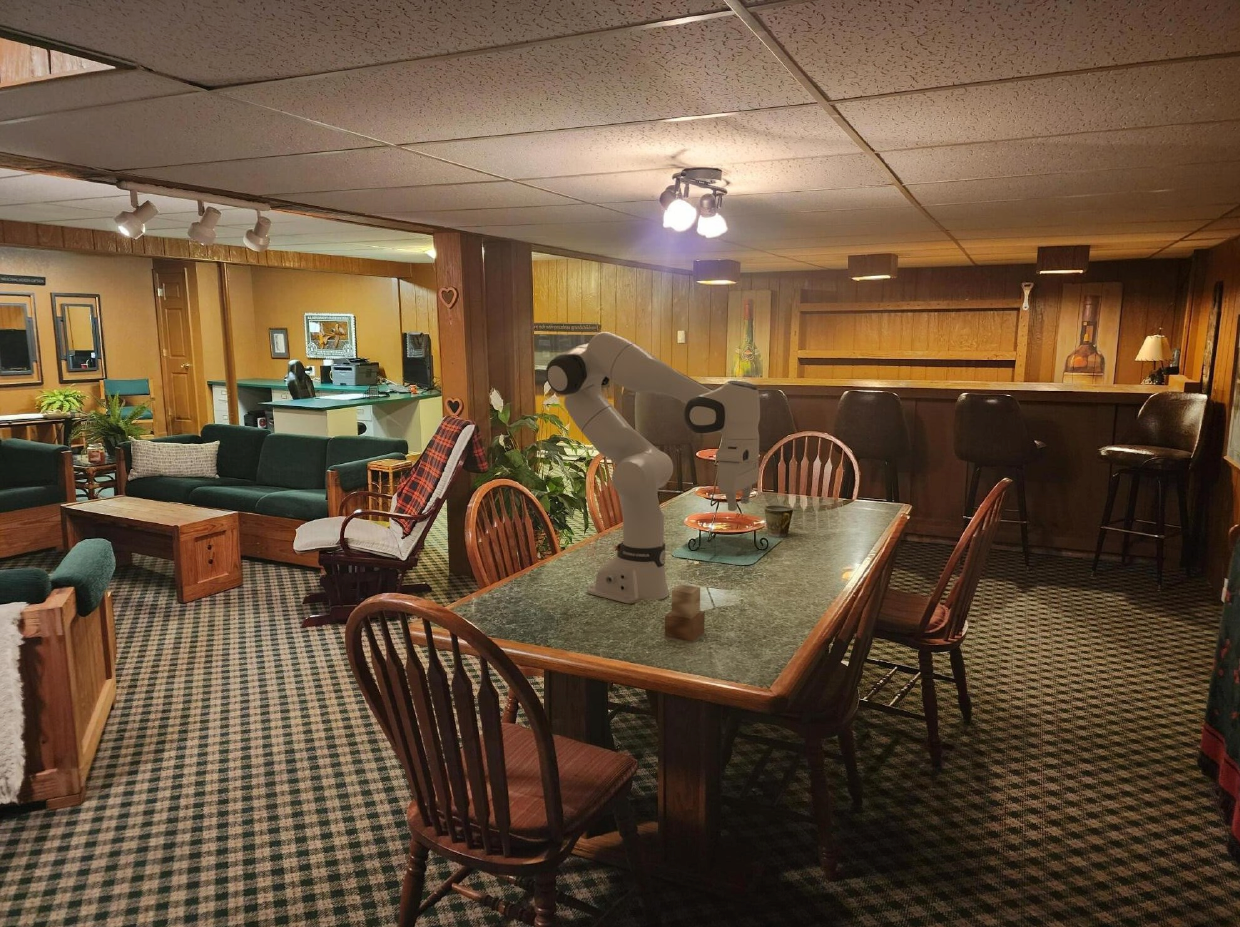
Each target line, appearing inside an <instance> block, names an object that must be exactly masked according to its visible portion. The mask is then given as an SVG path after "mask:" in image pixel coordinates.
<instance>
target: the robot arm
mask: <svg viewBox="0 0 1240 927" xmlns="http://www.w3.org/2000/svg"><path fill="white" fill-rule="evenodd" d="M545 376H546V377H545V378H546V382H547V384H548V386H549V387H550V388H551V390H553V391H554V393H557V394H558V395H561V396H564V400H563V404H564V407H565V410H566V412H567V414H568V415H569V417H570V418H571V420H572V421H573V422H574V424H575V425H576V427H577V428H578V429H579V431H580V432H581V433H582V434H583V435H584V436H585V438H586V439H587V440H588V442H590V444H591V445H592V446H593V447H594V448H595V450H596V451H598V453H599V454H600V455H602V457H605V458H607V459H609V460H611V462H613V463H615V464H616V466H615V468H614V469H613V471H612V475H611V482H612V487H613V488H614V490H615V491H616V492H617V494H618V498H619V504H620V508H621V514H622V540H621V542H620V543H618V544H617V545H616V546H614V548H615V549H614V552H616V551H617V552H616V555H615V556H614V557H613V558H611V559H610V560H609V561H607V562H606V563H603V565H602V566H601V567H600V568H598V571H597V572H596V573H597V574H596V578H595V582H593V583H591V584H589V585H588V587H587V594H589V595H593V596H596V597H601V598H605V599H609V600H614V601H617V602H620V603H621V602H622V603H625V604H637V603H638V602H640V601H641V600H643V599H647V600H648V599H649V600H654V601H659V600H663V599H666V598H667V597H668V596H669V595H670V592H669V589H668V583H667V578H666V571H665V564H666V555H667V552H666V543H665V541H664V540H665V531H664V530H665V515H664V513H663V511H662V509H661V507H660V503H659V502H660V501H659V496H658V491H659V489H661V488H663V487H664V486H665V485H667V483H668V482H669V480H670V479H671V477H672V475H673V473H674V463H673V460H672V459H671V457H670V456H669V455H668V454H667V453H665V452H663V451H661V450H660V449H659V448H657V447H656V446H654V445H653V443H651V442H650V441H648V440H647V439H646V438H645V437H644V436H643V435H642V434H640V433H639V432H638V431H636V430H635V429H634V428H633V427H632V426H631V425H630V424H629V423H628V422H627V420H626V419H625V418H624V417H623V416H622V414H620V413H619V411H618V409H616V408H615V407H614V405H613V404H612V403H611V401H609V400H608V399H607V398H606V396H605V395H604V394H603V392H602V386H607V385H608V383H609V382H610V381H612V382H614V383H615V384H617V385H618V386H620V387H622V388H624V389H627V390H628V391H631V392H635V393H643V394H660V395H666V396H669V397H672V398H675V399H677V400H678V401H681V402H682V403H684V404H685V407H684V412H683V419H684V421H685V424H686V426H687V427H688V429H689V430H690V431H692V432H693V433H695V434H699V435H710V434H715V433H720V435H721V443H720V446H719V448H717V451H715V460H716V461H718V462H717V468H716V469H717V472H716V473H717V490H718V492H719V494H721V495H725V498H726V502H727V511H729V512H735V511H737V510H738V502H737V498H736V497H737V493H739V492H741V491H742V492H741V496H740V503H741V504H745V505H747V504H749V503H750V502H751V501H750V498H751V493H752V489H753V488H752V486H753V485H754V484H757V483H758V481H759V476H760V469H759V468H760V467H759V466H760V464H759V462H760V461H759V457H760V434H759V423H760V420H761V404H760V403H761V401H760V393H759V390H758V388H757V386H756V385H754V384H753V383H750V382H746V381H741V380H727V381H726V382H725V383H724V384H723V385H721V386H720V387H717V388H716V389H712V388H710V387H708V386H706V385H704V384H702V383H701V382H699V381H697V380H695V379H693V378H692V377H690V376H687V375H685V374H684V373H682V372H680V371H678V370H676V369H674V368H673V367H672V366H670V365H669V364H667V363H665V362H663V361H662V360H661V359H659V358H658V357H656V356H655V355H653V354H652V353H651V352H649V351H647V350H646V349H645V348H642V347H641V346H640V345H638V344H636V343H634V342H633V341H631V340H630V339H627V338H625V337H623V336H621V335H618V334H615V333H612V332H609V331H601V332H598V333H597V334H595V335H593V337H591V339H590V340H589V342H586V343H583V344H579V345H577V346H574V347H572V348H571V349H569V350H567V351H565V352H564V353H562V354H559V355H557V356H555V357H554V358H553V359H551V360H550V361H549V362H548V364H547V365H546V369H545Z"/></svg>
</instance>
